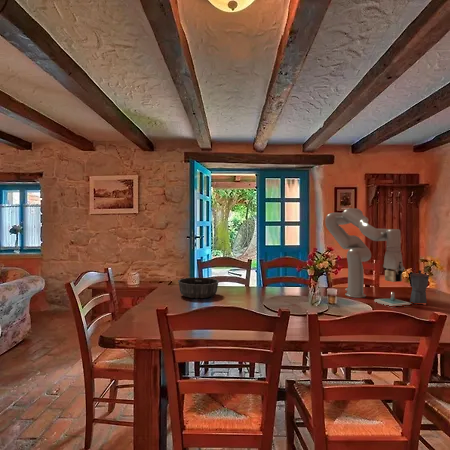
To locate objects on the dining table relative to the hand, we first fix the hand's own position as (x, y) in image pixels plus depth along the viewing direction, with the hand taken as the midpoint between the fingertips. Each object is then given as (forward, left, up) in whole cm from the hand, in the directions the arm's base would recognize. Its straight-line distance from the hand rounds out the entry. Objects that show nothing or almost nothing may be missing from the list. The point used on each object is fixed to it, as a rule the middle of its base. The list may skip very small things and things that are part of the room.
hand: (393, 279), depth 198 cm
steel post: (0, 0, -13) cm, 13 cm away
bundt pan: (-52, -106, -15) cm, 119 cm away
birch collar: (0, 0, -1) cm, 1 cm away
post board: (0, 0, -14) cm, 14 cm away
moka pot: (+3, +16, -15) cm, 22 cm away
